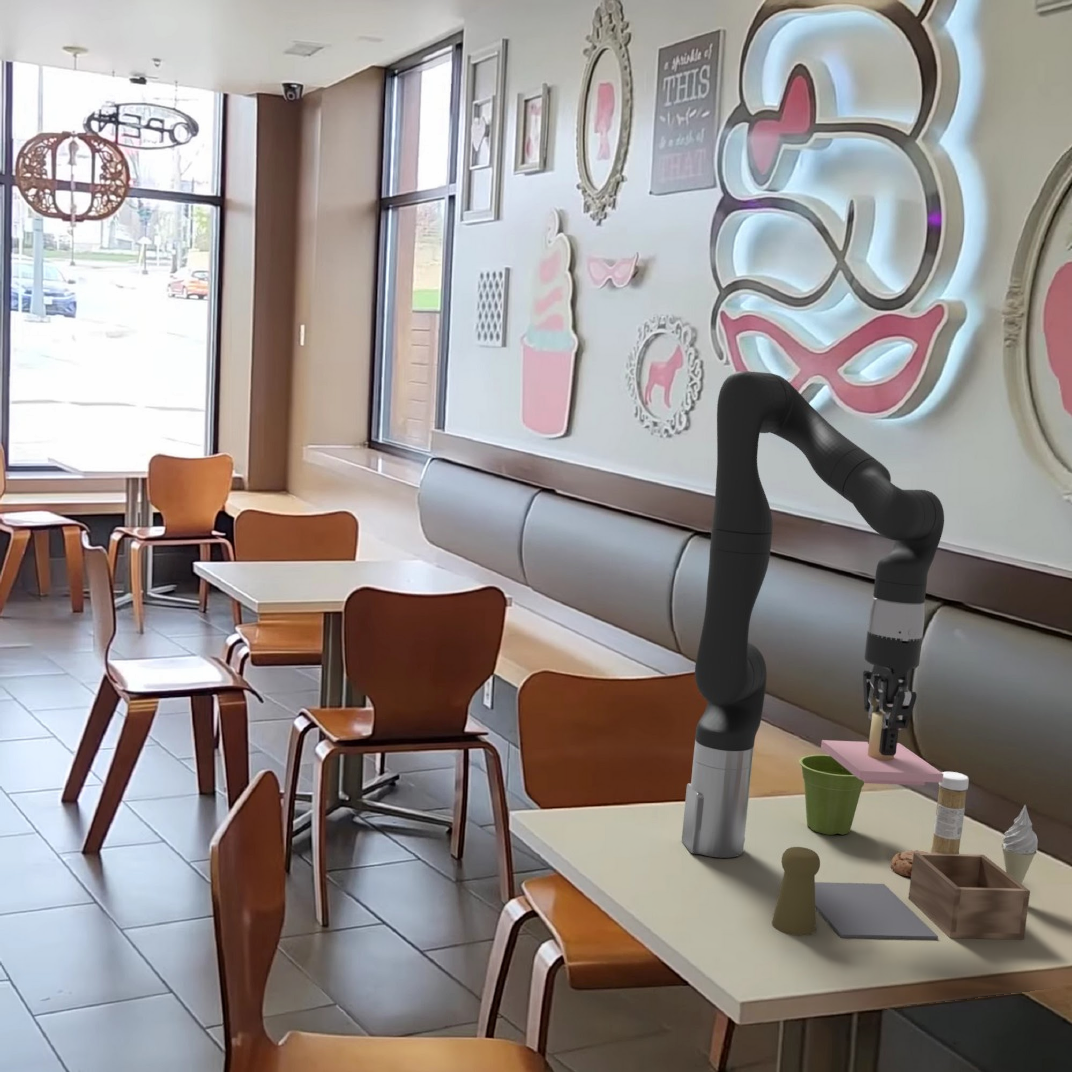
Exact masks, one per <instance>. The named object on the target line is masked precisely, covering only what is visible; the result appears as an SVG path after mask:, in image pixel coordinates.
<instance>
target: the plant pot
mask: <svg viewBox="0 0 1072 1072" xmlns="http://www.w3.org/2000/svg"><path fill="white" fill-rule="evenodd" d="M798 765H800V766H801V771H802V778H803V784H804V798H805V800H804V801H805V812H806V814H805V815H806V826H807V827H809V828H810V829H811V830H812V831H814V832H816V833H818V834H824V835H827V836H834V835H836V834H839V835H841V836H843V835H846V834H849V833H850V831H851V829H852V825H853V822H854V818H855V814H856V811H857V807H858V804H859V799H860V795H861V792H862V788H863V787H864V785H865V784H866V783H865V782H863V781H862V780H859V779H858V778H857V777H856V776H854V775H853V774H852V773H851V772H849V771H848V770H847V769H846V768H845V767H843V766H842V765H841V764H840V763H838V762H837V761H836V760H835V759H834V758H832V757H831V756H830V755H829V754H811V755H806V756H803V757H800V758H799V760H798Z"/></svg>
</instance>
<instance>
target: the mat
mask: <svg viewBox="0 0 1072 1072" xmlns="http://www.w3.org/2000/svg"><path fill="white" fill-rule="evenodd" d="M815 910H817V912H818V913H819V914H820V915H821V916H822V917H823V919H824V920H825V921H826V922H827V923H828V924H829V925H830V926H831V928H832V929H833V930H834V932H835V933H836V934H837V935H838V936H839V937H840V938H844V939H845V938H848V939H849V938H852V939H853V938H855V939H857V938H859V939H908V940H911V939H913V940H914V939H915V940H919V939H920V940H922V939H923V940H938V938H939V936H938V935H937V933H935V931H933V930H932V928H930V927H929V926H928V925H927V924H926V923H925V922H924V921H923V920H922V919H921V918H920V917H919V916H918V915H917V914H916V913H915V912H914V911H913V910H912V909H910V908H909V906H908V905H907V904H906V903H905V902H904V901H903V900H901V899H900V897H898V896H897V895H896V893H894V892H893V891H892V890H891V889H890V888H889V887H888V886H887V885H886V884H885V883H872V882H870V883H869V882H867V883H864V882H863V883H861V882H859V883H858V882H824V881H823V882H822V881H821V882H819V881H815Z"/></svg>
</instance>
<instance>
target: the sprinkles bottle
mask: <svg viewBox="0 0 1072 1072" xmlns="http://www.w3.org/2000/svg"><path fill="white" fill-rule="evenodd" d="M941 773H943V782H942V783H941V782H938V785H939V786H938V797H937V803H936V809H935V810H936V812H935V815H934V825H933V837H932V846H931V848H930V851H931V852H930V853H938V854H960V846H961V839H962V835H963V834H962V833H963V827H964V826H963V825H964V817H965V810H966V808H965V807H966V797H967V792H968V788H969V781H970V779H969V776H968V775H966V774H963V773H960V772H957V771H955V772H954V771H941Z"/></svg>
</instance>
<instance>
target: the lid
mask: <svg viewBox="0 0 1072 1072" xmlns="http://www.w3.org/2000/svg"><path fill="white" fill-rule="evenodd" d="M890 713H891V712H890ZM890 713H889V716H890ZM882 728H883V727H882V712H874V713H872V721H871V730H870V739H869V744H868V741H855V740H853V741H852V740H851V741H850V740H848V741H847V740H832V739H831V740H827V739H822V740H821V745H820V749H822V751H824V752H825V753H827V755H830V756H831V757H832V758H834V759H835V760H836V761H837V762H838V763H840V764H841V765H842V766H843V767H845V768H846V769H847V770H848V771H849V772H851V773H852V774H853V775H854V776H856V777H857V778H858V779H859V780H862V781H863V782H865V783H864V784H873V785H874V784H876V785H878V784H880V785H905V786H925V785H926V783H939V782H941V783H942V782H943V773H942V771H940V770H938V769H937V768H936V767H934V766H932V765H931V764H930V763H928V762H927V761H926V760H924V759H923V758H921V757H920V756H918V755H917V754H915V753H914V752H913V751H912V750H910V749H908V748H907V747H905V746H904V745H903V744H901V743H899V742H897V748H896V754H895V755H893V756H890V755H882V754H881V753H880V752H879V748H880V739H881V730H882Z"/></svg>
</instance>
